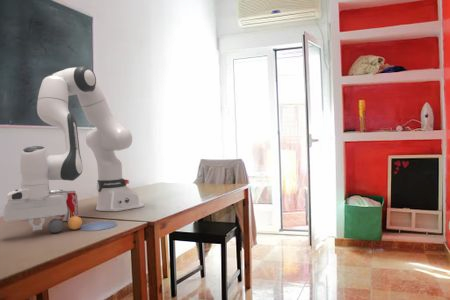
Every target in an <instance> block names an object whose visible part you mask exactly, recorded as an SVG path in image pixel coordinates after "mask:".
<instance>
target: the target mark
mask: <svg viewBox="0 0 450 300" xmlns="http://www.w3.org/2000/svg"><path fill="white" fill-rule="evenodd" d="M117 226H118V223H117V222H115V221H111V220H110V221H107V220H106V221H103V220H102V221H94V222H93V221H92V222H87V223H85V224H82V225H81V227H80V228H78V229H79V230H80V231H86V232H92V231H93V232H94V231H96V232H97V231H105V230H108V229H112V228H115V227H117Z"/></svg>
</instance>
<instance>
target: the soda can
mask: <svg viewBox="0 0 450 300" xmlns="http://www.w3.org/2000/svg"><path fill="white" fill-rule="evenodd" d="M65 191H66V192H67V197H68V198H67V200H66V204H67V211H68V212H67V213H66V215H59V218H60V220H61V221H62V222H64V221H65V222H66V221H68V220H69V219H70V218H71V217H73V216H78V217H79V206H78V205H79V204H78V203H79V201H78V194H77V193H76V191H75V190H65ZM62 193H63V192H62ZM65 222H64V223H65Z"/></svg>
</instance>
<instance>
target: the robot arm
mask: <svg viewBox="0 0 450 300" xmlns="http://www.w3.org/2000/svg"><path fill="white" fill-rule="evenodd" d="M96 78H97V77H96V74H95V73H94V71H93V70H92V69H91V68H90V67H89V66H85V65H84V66H83V65H82V66H77V67H68V68H65V69H63V70H59V71H55V72H51V73H50V74H49V75H47V76H46V77H44V78H43V79H42V81H41V85H40V87H39V91H38V96H37V102H36V103H37V104H36V112H37V116H38V117H39V118H40V120H41V121H42V122H44V123H46V124H47V125H50V126H52V127H54V128H57V129H60V130H62V132H63V134H64V141H65V142H64V143H65V152H64V153H63V154H62V153H61V154H49V153H47V150H46V147H45V146H39V145H34V146H27V147H25V148H23V149H22V151H21V153H20V165H19V166H20V167H19V168H20V175H21V182H20V185H21V186H20V188H18V189H15V190H12V191H9V192H8V193H7V195H6V196H7V197H6V198H7V200H6V202H5V204H4V208H3V209H4V210H3V220H4V222H7V223H8V222H17V221H25V220H28V223H29V224H30V226H31V227H32V232H36V231H37V232H39V231H43V225H44V223H45V221H46V218H49V217H57V216H59V217H60V215H66V213H67V212H68V211H67V204H66V200H67V198H68V197H67V192H66V191H67V190H64V189H57V190H55V189H53V190H52V189H51V190H50V181H71V182H72V181H75V180H76V179H78V178H79V177H80V176H81V175H82V173H83V161H82V157H81V151H80V141H79V133H78V132H79V131H78V126H77V125H78V124H77V121H76V118H75V116H74V115H73V114H72V113H71V112H70V110H69V96H77V99H78V102H79V105H80V107H81V109H82V112H83V113H84V116H85V118H86V120H87V122H88V123H89V124H91V125H93V127H95V129H94V128H93V129H92V130H90V131H88V132H87V134H86V138H85V142H86V146H87V147H88V148H89V149H90V150H91V151H92V153H93V155H94V158H95V161H96V164H97V176H98V179H97V183H96V184H97V185H96V186H97V187H96V188H97V192H98V193H97V194H98V195H97V203H96V206H95V207H96V208H95V210H96V211H100V212H121V211H127V210H133V209H139V208H143V207H145V203H143V202H142V201H140V197H139V195H138V193H137V192H136V191H134V190H133V189H131V188H130V187H129V186H127V185H129V184H130V180H129V179H125V178H123V166H122V164H123V163H122V161H121V160H120V159H119V158H118V157H117V156H116V154H115V151H122V150H127V149H129V148H130V147H131V146H132V143H133V135H132V133H131V130H129V129H127V128H125V127H124V126H123V125H122V124H121V123H120V122H119V121H118V120H117V119H116V118H115V116H114V115H113V113H112V111H111V109H110V108H109V105H108V103H107V101H106V98H105V95H104V93H103V91H102V89H101V87H100V86H99V84H98V83H97V79H96ZM62 192H63V193H62ZM35 219H40V223H39V224H34V220H35Z"/></svg>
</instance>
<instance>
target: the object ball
mask: <svg viewBox="0 0 450 300" xmlns="http://www.w3.org/2000/svg"><path fill="white" fill-rule="evenodd" d="M81 225H83V220H82V218H81V217H80V216H79V215H78V216H73V217H71V218H70V219H69V220H68V222H67V227H68V228H69V229H70V230H78V229H79V228H80V227H81Z"/></svg>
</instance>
